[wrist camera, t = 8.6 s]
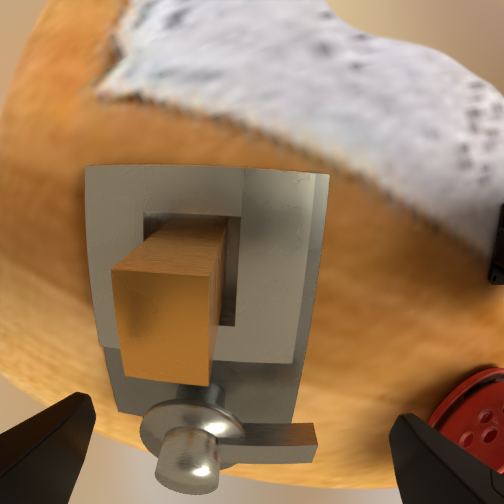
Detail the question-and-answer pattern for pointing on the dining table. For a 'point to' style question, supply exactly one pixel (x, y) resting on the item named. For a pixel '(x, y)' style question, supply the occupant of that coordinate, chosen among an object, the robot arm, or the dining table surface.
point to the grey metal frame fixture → (232, 312)
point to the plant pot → (476, 417)
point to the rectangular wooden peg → (172, 301)
